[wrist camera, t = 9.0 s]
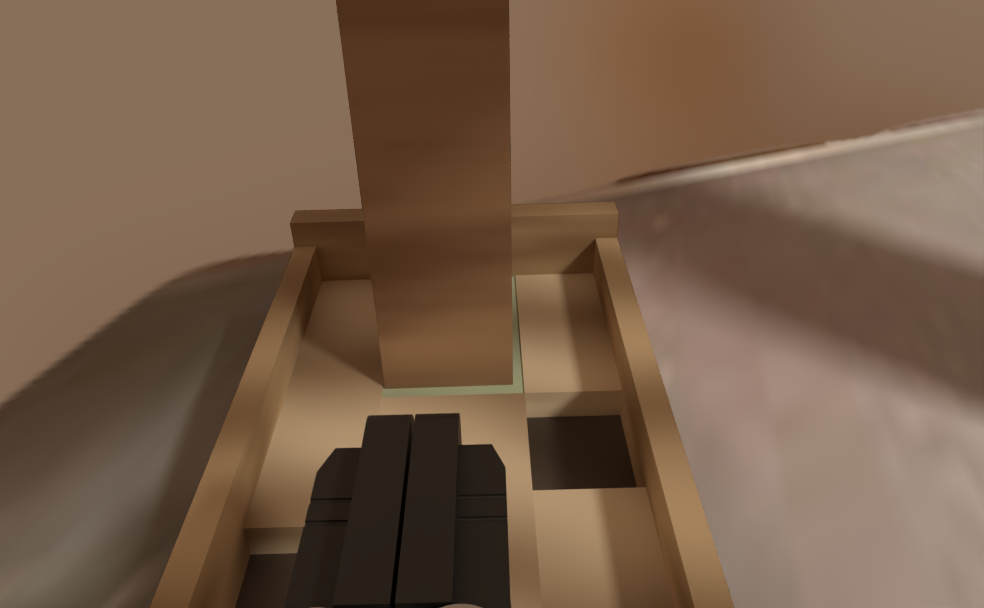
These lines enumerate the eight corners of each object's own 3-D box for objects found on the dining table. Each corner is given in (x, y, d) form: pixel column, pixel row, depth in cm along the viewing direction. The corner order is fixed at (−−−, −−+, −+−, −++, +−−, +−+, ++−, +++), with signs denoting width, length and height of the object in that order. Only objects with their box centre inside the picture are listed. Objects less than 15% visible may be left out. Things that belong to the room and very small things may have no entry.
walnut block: (513, 384, 24) (509, -26, 18) (385, 388, 24) (333, -21, 18) (505, 284, 29) (500, -65, 23) (399, 287, 29) (363, -61, 23)
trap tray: (797, 987, 13) (849, 893, 11) (72, 1008, 13) (-13, 918, 11) (609, 285, 31) (614, 201, 29) (310, 293, 31) (295, 210, 29)
